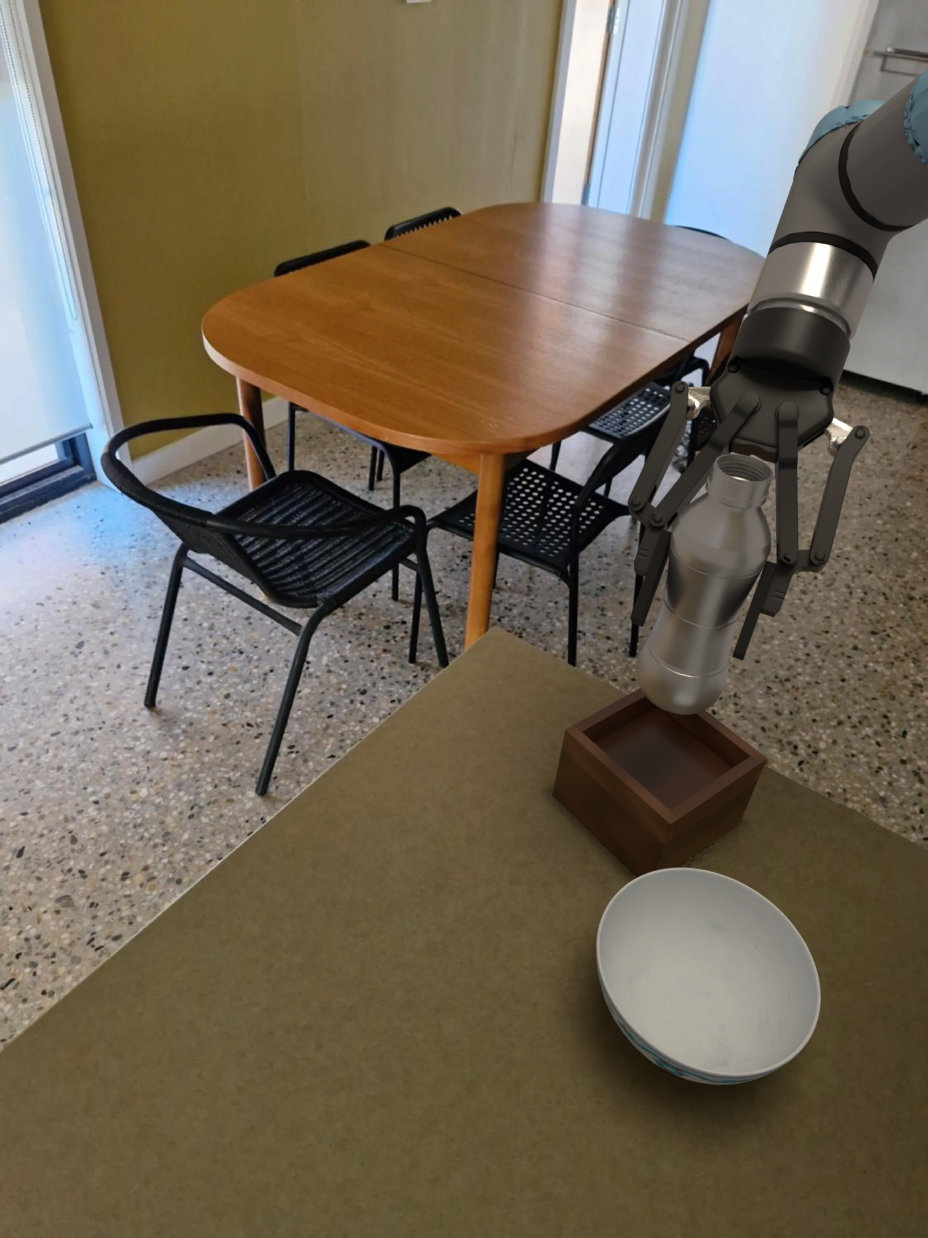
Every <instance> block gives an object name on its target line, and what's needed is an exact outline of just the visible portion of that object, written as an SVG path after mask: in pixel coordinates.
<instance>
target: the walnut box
mask: <svg viewBox="0 0 928 1238" xmlns="http://www.w3.org/2000/svg"><path fill="white" fill-rule="evenodd" d="M558 759H559V760H558V765H557V769H556V774H555V779H554V785H553V790H552V795H553V797H554V798H556V800H558V802H560V804H562V805H563V806H564V807H565V808H566V809H567V810H568V811H569V812H570V813H571V814H572V815H573V816H574V817H575V818H576V819H577V820H578V821H579V822H580V823H581V824H582V825H583V826H584V827H585V828H586V829H587V830H588V831H589V832H590V833H591V834H592V835H593V836H594V837H595V838H596V839H597V840H598V841H600V843H602V844H603V845H604V846H605V848H607V849H608V851H610V853H612V854H613V855H614V856H615V857H616V858H617V859H618V860H619V861H620V862H621V863H622V864H623V866H625V867H626V868H627V869H628V870H629V871H630V872H631V873H632V874H633V875H634V876H635V877H636V878H638V877H640V876H642V875H644V874H647V873H650V872H653V871H657V870H662V869H668V868H680V867H681V866H682V865H684V864H685V863H686V862H688V861H689V860H690V859H691V858H693V857H695V856H696V855H697V854H698V853H700V852H701V851H703V850H704V849H705V848H707V847H708V846H710V845H711V844H712V843H714V842H715V841H716V840H718V839H719V838H721V837H722V836H724V835H725V834H726V833H728V832H729V831H730V830H732V829H733V828H735V827H736V826H737V825H739V824H740V823H741V822H742V820H743V817H744V815H745V812H746V810H747V807H748V805H749V803H750V801H751V799H752V796H753V793H754V791H755V789H756V786H757V785H758V781H759V779H760V777H761V774H762V772H763V770H764V767H765V765H766V763H767V761H768V757H766V756H765V755H764V754H763V753H761V752H760V751H759V750H757V749H756V748H754V747H753V746H752V745H751V744H750V743H749V742H747V741H746V740H745V739H743V738H742V737H740V735H738V734H737V733H736V732H735V731H733V730H732V729H730V728H729V727H728V726H726V725H725V724H724V723H723V722H721V721H720V720H719V719H718V718H716V717H715V716H714V715H712V714H711V713H709V711H707V709H706V710H704V711H701V712H699V713H696V714H689V715H683V714H676V713H671V712H668V711H666V710H663V709H661V708H659V707H657V706H656V705H654V704H653V703H652V702H651V701H650V700H649V699H648V698H647V697H646V696H645V694H644V693H643V691H642V690H641V688H640V687H639V688H637V689H636V690H634V691H632V692H630V693H629V694H627V695H625V696H623V697H622V698H619V699H618V700H616V701H614V702H612V703H610V704H608V705H607V706H605V707H603V708H602V709H600V710H598V711H596V712H594V713H592V714H591V715H589V716H587V717H585V718H583V719H582V720H580V721H578V722H576V723H574V724H573V725H571V726H569V727H567V728H565V730H564V734H563V740H562V745H561V750H560V755H559V758H558Z"/></svg>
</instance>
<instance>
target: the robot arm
mask: <svg viewBox="0 0 928 1238" xmlns="http://www.w3.org/2000/svg"><path fill="white" fill-rule="evenodd" d="M926 220H928V67H927V68H926V69H925V70H923V72H921V73H920V74H919V75H918V76H916V77H915V78H914V79H913V80H912V81H910V82H909V83H908V84H906V85H905V86H903V88H901V89H900V90H899V91H898V92H896V93H895V94H894V95H893V96H892V97H890V98H889V99H888V100H887V101H884V100H883V101H882V100H878V99H861V100H857V101H855V102H854V103H852V104H851V105H838V106H837V107H834V108H833V109H832V110H829V111H828V112H827V113H826V114H825V115H824V116H823V117H821V119H820V120H819V121H818V123H817V124H816V126H815V127H814V129H813V131H812V134H811V136H810V138H809V140H808V142H807V144H806V147H805V149H804V150H803V151H802V153H801V155H800V156H799V158H798V161H797V165H796V167H795V169H794V173H793V178H792V183H791V185H790V189H789V191H788V195H787V197H786V200H785V203H784V206H783V209H782V212H781V214H780V217H779V220H778V223H777V226H776V228H775V231H774V234H773V238H772V240H771V243H770V246H769V249H768V251H767V254H766V257H765V259H764V260H763V263H762V265H761V268H760V271H759V274H758V276H757V281H756V282H755V285H754V288H753V292H752V293H751V297H750V299H749V303H748V305H747V309H746V314H747V316H746V317H744V319H743V320H742V322H741V324H740V327H739V329H738V333H737V335H736V338H735V341H734V344H733V346H732V349H731V352H730V355H729V358H728V360H727V363H726V365H725V367H724V368H725V369H724V371H723V372H722V374H721V375H720V376H719V377H718V378H717V379H716V380H714V382H713V383H712V384H711V386H689V384H688V383H687V381H685V380H677V381H674V382H673V383H672V385H671V388H670V398H669V399H670V400H669V411H668V413H667V416H666V417H665V419H664V422H663V425H662V426H661V429H660V430H659V433H658V434H657V437H656V438H655V441H654V443H653V445H652V447H651V449H650V452H649V454H648V456H647V458H646V460H645V462H644V465H643V467H642V469H641V471H640V473H639V475H638V477H637V478H636V479H637V480H636V482H635V483H634V486H633V488H632V490H631V492H630V494H629V497H628V499H627V502H626V503H627V508H628V511H629V514H630V516H631V518H632V519H634V520H637V521H638V522H640V523H641V524H642V525H643V526H644V527H645V529H644V532H643V535H642V538H641V540H640V543H639V547H638V549H637V552H636V555H635V558H634V560H633V571H634V573H635V574H636V575H639V576H642V577H644V578H643V581H642V584H641V587H640V589H639V592H638V595H637V597H636V601H635V603H634V606H633V607H632V611H631V613H630V617H629V618H630V621H631V623H632V624H633V625H636V626H638V627H642V628H644V626H645V623H646V621H647V617H648V615H649V612H650V610H651V606H652V604H653V601H654V598H655V595H656V593H657V590H658V587H659V584H660V582H661V579H662V576H663V573H664V571H665V567H666V565H667V562H668V561H669V551H670V539H671V532H672V531H670V528H672V526H673V523H674V521H675V520H676V518H677V517H678V515H679V514H680V512H681V511H682V510H683V509H684V508H685V507H686V506H687V505H689V504H690V503H691V502H692V501H693V500H694V498H695V497H696V495H697V494H698V493H699V492H700V491H701V489H702V488H703V487H705V485H706V481H707V479H708V477H709V476H710V474H711V471H712V467H713V464H714V462H715V460H716V459H717V458H718V457H719V456H721V455H725V454H741V455H746V456H755V458H756V457H757V459H759V460H761V461H762V462H767V463H771V464H774V479H775V481H774V483H775V548H776V549H775V551H776V552H775V553H776V555H775V556H776V559H775V560H776V562H773V561H769V560H767V561H766V564H765V565H764V567H763V569H762V571H761V573H760V575H759V578H758V582H757V585H756V587H755V591H754V593H753V596H752V599H751V602H750V604H749V607H748V610H747V613H746V616H745V618H744V621H743V624H742V627H741V629H740V632H739V635H738V638H737V641H736V644H735V647H734V649H733V653H732V656H731V657H732V658H734V659H736V660H739V661H744V659H745V657H746V654H747V651H748V649H749V646H750V642H751V639H752V636H753V634H754V632H755V628H756V625H757V623H758V620H759V617H760V614H761V615H764V616H768V617H771V618H775V617H776V616H777V615H778V614H779V613H780V611H781V609H782V607H783V604H784V601H785V598H786V595H787V592H788V589H789V587H790V584H791V582H792V578H793V576H794V575H796V574H798V573H802V572H803V573H806V572H811V573H814V574H817V573H820V572H822V571H823V570H824V568H825V567H826V566H827V564H828V562H829V560H830V557H831V553H832V550H833V545H834V541H835V536H836V534H837V529H838V525H839V521H840V517H841V514H842V508H843V503H844V501H845V496H846V493H847V488H848V485H849V480H850V476H851V473H852V468H853V465H854V463H855V462H856V460H857V459H858V458H859V456H860V454H861V453H862V452H863V450H864V448H865V446H866V444H867V442H868V440H869V438H870V436H871V431H870V429H869V428H868V427H867V426H866V425H862V424H860V425H856V426H854V427H853V426H852V425H850V424H848V423H846V422H845V421H842V420H840V419H838V418H836V417H835V409H834V404H833V400H834V396H835V393H836V390H837V388H838V385H839V382H840V379H841V376H842V375H843V374H842V373H843V371H844V368H845V365H846V362H847V359H848V356H849V354H850V351H851V342H850V341H852V339H854V338H855V335H856V333H857V330H858V327H859V325H860V322H861V320H862V317H863V314H864V311H865V308H866V306H867V303H868V300H869V297H870V294H871V291H872V289H873V286H874V282H875V279H876V276H877V274H878V271H879V268H880V266H881V263H882V260H883V259H884V255H885V252H886V250H887V248H888V244H889V243H890V241H891V240H892V239H893V238H894V237H895V236H897V235H899V234H901V233H903V232H904V231H906V230H909V229H911V228H914V227H915V226H917V225H919V224H921V223H922V222H924V221H926ZM706 406H710V409H711V412H712V415H713V418H714V421H715V423H716V426H717V427H716V429H715V430H714V431H713V432H712V433H711V435H710V437H709V438H708V440H707V442H706V444H705V445H704V447H702V449H701V450H700V451H699V453H698V454H697V455H696V456H695V457H694V459H693V460H692V462H690V464H689V465H688V466H687V468H686V469H685V470H684V471H683V473H682V474H681V475H680V476H679V477H678V479H677V480H676V481H675V483H674V484H673V485H672V486H671V487H670V489H669V490H668V491H667V492H666V494H664V496H663V498H661V500H660V501H659V503H658V504H657V505H656V506H654V505H653V504H652V503H653V501H654V499H655V497H656V495H657V492H658V491H659V489H660V486H661V484H662V482H663V480H664V477H665V475H666V473H667V471H668V470H669V467H670V465H671V463H672V460H673V459H674V456H675V454H676V452H677V450H678V448H679V446H680V443H681V441H682V439H683V437H684V435H685V432H686V430H687V426H688V422H689V421H688V420H694V419H696V418H697V417H699V415H700V412H701V410H702V409H703V408H704V407H706ZM823 435H825V436H826V437H827V438H828V445H827V447H826V449H827V450H826V451H827V453H828V454H829V455H830V456H831V457H832V458H833V460H832V463H831V465H830V467H829V470H828V473H827V476H826V480H825V484H824V490H823V493H822V497H821V500H820V505H819V509H818V513H817V517H816V520H815V525H814V529H813V533H812V537H811V541H810V545H809V548H808V549H799V493H798V492H799V490H798V489H799V487H798V484H799V483H798V464H799V452H800V451H802V450H803V449H804V448H806V447H807V446H809V445H811V443H813V442H815V441H816V440H817V439H819V438H820V437H822V436H823Z"/></svg>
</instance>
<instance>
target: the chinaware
mask: <svg viewBox="0 0 928 1238" xmlns="http://www.w3.org/2000/svg"><path fill="white" fill-rule="evenodd" d="M597 928H598V929H597V933H596V940H595V959H596V969H597V976H598V981H599V985H600V988H601V992H602V995H603V998H604V1001H605V1003H606V1006H607V1009H608V1010H609V1013H610V1014H611V1017H612V1019H613V1020H614V1022H615V1023H616V1025H617V1027H618V1028H619V1029H620V1031H621V1032H622V1034H623V1035H624V1036H625V1038H626V1039H627V1040H628V1042H630V1044H631V1045H632V1046H633V1047H634V1048H635V1049H636V1050H637V1051H638V1052H639V1053H640V1054H641V1055H642V1056H644V1057H645V1058H646V1059H647V1060H648V1061H650V1062H651V1063H653V1064H654V1065H656V1066H658V1067H659V1068H661V1069H663V1070H664V1071H666V1072H668V1073H669V1074H672V1075H674V1076H677V1077H679V1078H682V1079H685V1080H688V1081H691V1082H695V1083H700V1084H705V1085H706V1084H707V1085H714V1086H715V1085H717V1086H724V1085H737V1084H742V1083H747V1082H751V1081H755V1080H757V1079H760V1078H763V1077H766V1076H768V1075H770V1074H772V1073H773V1072H775V1071H777V1070H779V1069H780V1068H782V1067H784V1066H785V1065H786V1064H788V1063H789V1062H791V1061H792V1060H793V1059H794V1058H796V1056H797V1055H799V1054H800V1052H802V1051H803V1050H804V1048H805V1047H806V1045H807V1044H808V1042H809V1041H810V1039H811V1037H812V1036H813V1034H814V1032H815V1029H816V1027H817V1024H818V1022H819V1021H818V1020H819V1016H820V1013H821V1000H822V996H821V993H822V992H821V984H820V977H819V974H818V970H817V965H816V963H815V960H814V958H813V955H812V953H811V951H810V949H809V947H808V945H807V943H806V941H805V940H804V938H803V937H802V935H801V934H800V932H799V930H798V929H797V928H796V926H795V925H794V924H793V923H792V922H791V920H790V919H789V918H788V917H787V916H786V915H785V914H784V913H783V912H782V910H780V909H779V908H778V907H777V906H776V905H775V904H774V903H773V902H772V901H770V900H769V899H768V898H767V897H765V896H764V895H762V894H761V893H760V892H758V891H757V890H755V889H753V888H752V887H750V886H748V885H747V884H745V883H743V882H740V881H739V880H736V879H734V878H732V877H729V876H727V875H724V874H721V873H718V872H714V871H711V870H707V869H702V868H701V869H700V868H695V867H678V868H668V869H662V870H657V871H653V872H650V873H647V874H644V875H642V876H640V877H636V878H634V879H632V880H631V881H629V882H627V884H625V885H623V886H622V888H620V889H619V890H618V891H617V892H616V893H615V894H614V895H613V897H612V898H611V899H610V901H609V902H608V904H607V905H606V907H605V909H604V911H603V913H602V915H601V918H600V920H599V924H598V927H597Z"/></svg>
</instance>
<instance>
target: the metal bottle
mask: <svg viewBox="0 0 928 1238" xmlns="http://www.w3.org/2000/svg"><path fill="white" fill-rule="evenodd" d="M773 479H774V471H773V469H772V468H771V467H770V466H769V465H768V464H767V463H766V462H765V461H763V460H761V459H759V458H756V457H754V456H751V455H741V454H737V453H731V454H725V455H721V456H719V457H718V458H717V459H716V460H715V462H714V464H713V467H712V471H711V474H710V476H709V477H708V479H707V481H706V483H705V484H704V487H705V491H706V492H705V493H703V494H702V495H700V496H698V497H697V498H695V499H693V500H692V501H691V502H690V503H689V504H688V505H687V506H686V507H685V508H684V509H683V510H682V511H681V512H680V514H679V515H678V517H677V518H676V520H675V521H674V523H673V524H672V525H671V531H670V532H671V539H670V551H669V557H668V565H667V573H666V578H665V584H664V588H663V589H664V590H663V594H662V599H661V604H660V607H659V608H658V609H659V610H658V612H657V615H656V618H655V620H654V623H653V626H652V628H651V631H650V633H649V634H648V636H647V638H646V640H645V641H644V643H643V646H642V647H641V650H640V652H639V655H638V656H637V663H636V680H637V684H638V686H639V688H641V690H642V691H643V693H644V694H645V696H646V697H647V698H648V699H649V700H650V701H651V702H652V703H653V704H654V705H656V706H657V707H659V708H661V709H663V710H666V711H668V712H671V713H676V714H683V715H689V714H696V713H699V712H701V711H704V710H706V711H707V710H708V709H710V708H711V707H713V706H714V705H715V704H716V703H717V701H718V700H719V698H720V697H721V695H722V693H723V692H724V691H725V688H726V686H727V681H728V675H729V667H730V666H729V664H730V654H731V649H732V645H733V640H734V636H735V631H736V627H737V624H738V621H739V618H740V617H741V613H742V611H743V609H744V607H745V604H746V601H747V599H748V596H749V595H750V593H751V591H752V590H753V588H754V586H755V584H756V582H757V580H758V579H759V577H760V576H761V573H762V570H763V567H764V565H765V564H766V561H768V558H769V557H770V555H771V552H772V532H771V528H770V526H769V523H768V520H767V518H766V515H765V512H764V510H763V509H762V506H764V505H765V504H766V502H767V500H768V497H769V494H770V490H769V489H770V487H771V484H772V481H773Z"/></svg>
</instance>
